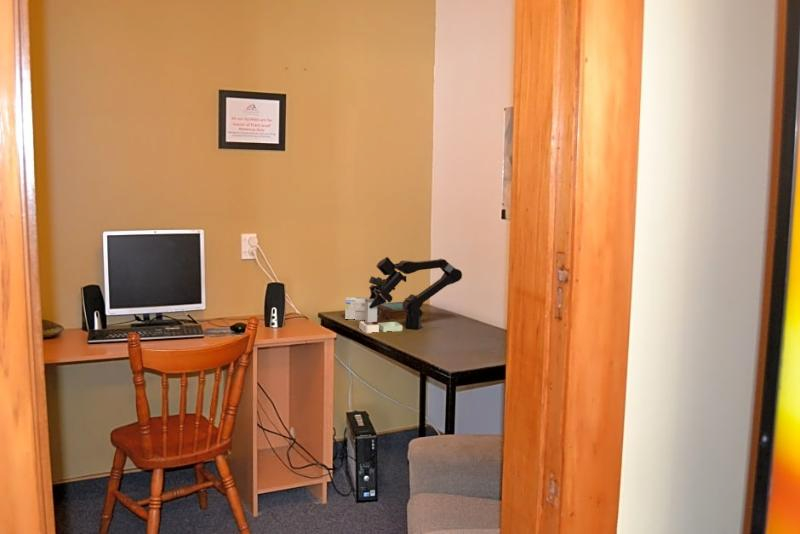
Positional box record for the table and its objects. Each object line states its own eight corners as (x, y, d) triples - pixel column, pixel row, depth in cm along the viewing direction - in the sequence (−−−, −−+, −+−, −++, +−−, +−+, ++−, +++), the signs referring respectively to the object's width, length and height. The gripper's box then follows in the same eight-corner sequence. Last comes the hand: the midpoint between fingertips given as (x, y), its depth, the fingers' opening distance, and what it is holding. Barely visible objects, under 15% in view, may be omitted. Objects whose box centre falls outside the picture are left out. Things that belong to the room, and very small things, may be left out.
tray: (395, 327, 337) (395, 321, 337) (402, 330, 329) (402, 325, 329) (377, 328, 334) (377, 322, 334) (383, 332, 326) (383, 326, 325)
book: (371, 313, 375) (371, 303, 374) (401, 311, 382) (401, 301, 382) (389, 321, 355) (389, 311, 354) (420, 318, 362) (421, 308, 361)
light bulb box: (368, 318, 358) (368, 297, 357) (366, 320, 352) (366, 299, 350) (347, 317, 359) (347, 296, 358) (344, 320, 353) (344, 298, 351)
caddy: (373, 319, 331) (374, 298, 330) (377, 321, 326) (377, 300, 325) (364, 320, 330) (364, 298, 328) (367, 322, 325) (368, 300, 324)
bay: (372, 328, 334) (372, 320, 333) (378, 332, 325) (378, 324, 324) (359, 328, 332) (359, 321, 331) (365, 333, 322) (365, 325, 322)
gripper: (373, 267, 335) (350, 291, 333) (386, 272, 318) (362, 298, 315) (389, 283, 339) (366, 307, 336) (402, 289, 321) (378, 314, 319)
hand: (368, 306), depth 327 cm, fingers closed on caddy, 5 cm apart
